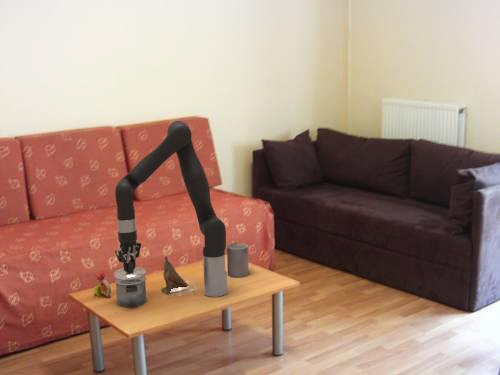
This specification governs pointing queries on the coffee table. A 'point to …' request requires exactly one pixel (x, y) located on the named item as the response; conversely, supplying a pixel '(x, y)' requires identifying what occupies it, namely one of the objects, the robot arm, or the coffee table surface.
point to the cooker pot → (131, 292)
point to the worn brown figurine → (171, 278)
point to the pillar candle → (237, 260)
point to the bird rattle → (102, 286)
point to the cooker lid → (130, 273)
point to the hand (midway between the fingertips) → (129, 269)
